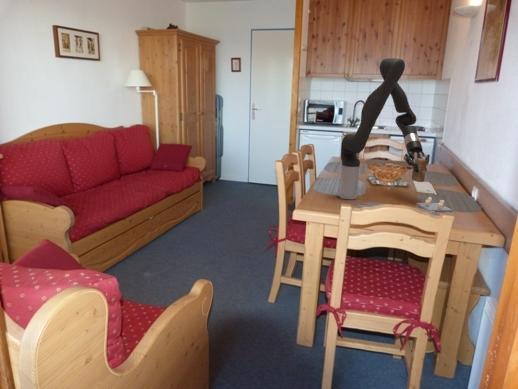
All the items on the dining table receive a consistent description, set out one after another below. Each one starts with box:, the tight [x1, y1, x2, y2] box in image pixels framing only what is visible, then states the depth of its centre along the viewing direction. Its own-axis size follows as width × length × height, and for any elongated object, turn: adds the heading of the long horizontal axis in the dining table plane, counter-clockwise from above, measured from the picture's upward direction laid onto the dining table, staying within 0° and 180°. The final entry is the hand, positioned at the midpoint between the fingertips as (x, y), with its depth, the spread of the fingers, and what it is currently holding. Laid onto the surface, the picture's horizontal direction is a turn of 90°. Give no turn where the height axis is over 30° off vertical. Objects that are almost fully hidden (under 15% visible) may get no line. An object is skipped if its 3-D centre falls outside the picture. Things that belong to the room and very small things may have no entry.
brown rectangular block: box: [411, 158, 428, 182], centre depth 204 cm, size 4×6×11 cm, turn 7°
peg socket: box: [416, 196, 453, 213], centre depth 199 cm, size 12×12×4 cm
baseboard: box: [412, 180, 438, 196], centre depth 241 cm, size 31×3×12 cm
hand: (421, 171), depth 202 cm, fingers closed on brown rectangular block, 3 cm apart
